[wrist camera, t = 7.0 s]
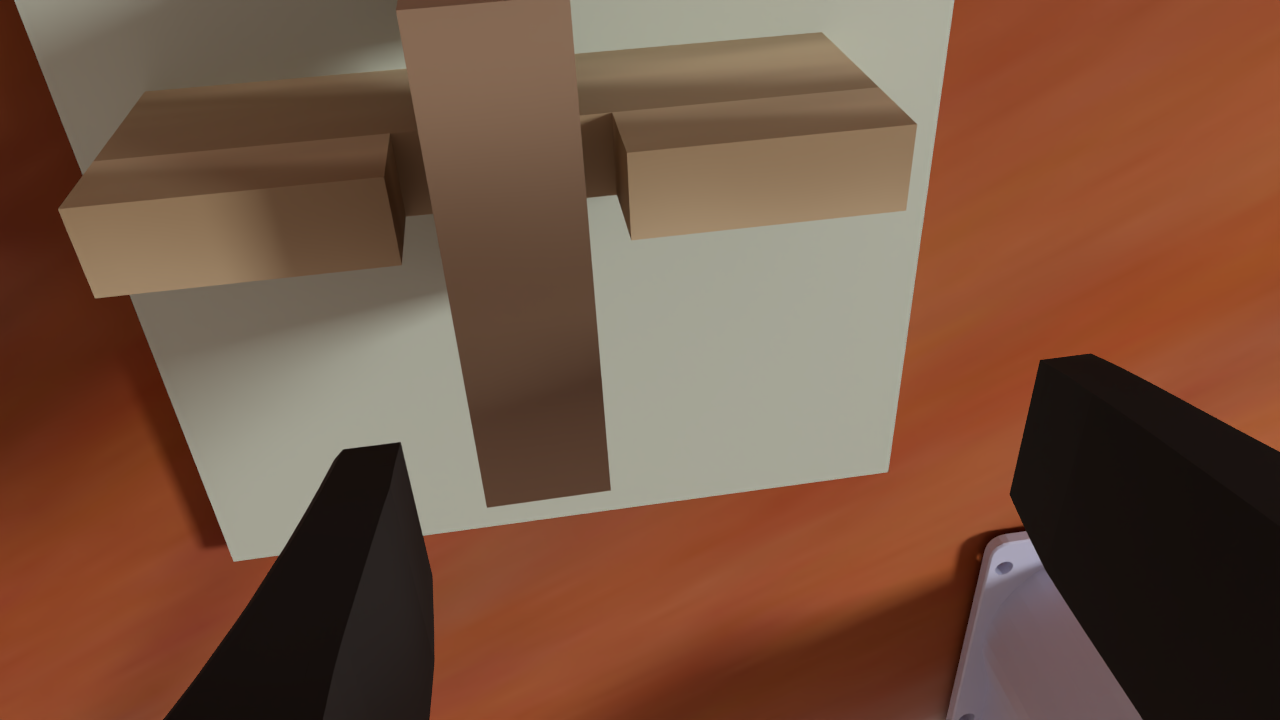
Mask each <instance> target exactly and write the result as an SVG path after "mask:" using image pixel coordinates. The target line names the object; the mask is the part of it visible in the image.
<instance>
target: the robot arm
mask: <svg viewBox="0 0 1280 720" xmlns="http://www.w3.org/2000/svg"><path fill="white" fill-rule="evenodd" d="M1010 496H1011V498H1012V501H1013V503H1014V505H1015V507H1016V510H1017V512H1018V514H1019V516H1020V518H1021V521H1022V523H1023V525H1024V527H1025V530H1026V531H1023V532H1016V533H1009V534H1003V535H999V536H997V537H995V538H993V539H992V540H991V541H990V542H989V543H988V544H987V546H986V548H985V551H984V555H983V560H982V564H981V569H980V573H979V577H978V582H977V586H976V590H975V595H974V599H973V604H972V608H971V612H970V617H969V621H968V625H967V630H966V634H965V639H964V643H963V647H962V652H961V656H960V660H959V665H958V669H957V674H956V678H955V682H954V687H953V691H952V695H951V700H950V704H949V709H948V713H947V717H946V720H1280V452H1279V451H1277V450H1275V449H1273V448H1271V447H1269V446H1267V445H1265V444H1263V443H1262V442H1260V441H1258V440H1256V439H1254V438H1252V437H1250V436H1248V435H1246V434H1245V433H1243V432H1241V431H1239V430H1237V429H1235V428H1233V427H1231V426H1230V425H1228V424H1226V423H1224V422H1222V421H1220V420H1218V419H1217V418H1215V417H1213V416H1211V415H1209V414H1207V413H1205V412H1204V411H1202V410H1200V409H1198V408H1196V407H1194V406H1192V405H1191V404H1189V403H1187V402H1185V401H1183V400H1181V399H1180V398H1178V397H1176V396H1174V395H1172V394H1170V393H1168V392H1167V391H1165V390H1163V389H1161V388H1159V387H1157V386H1155V385H1153V384H1152V383H1150V382H1148V381H1146V380H1144V379H1142V378H1140V377H1138V376H1136V375H1134V374H1132V373H1130V372H1129V371H1127V370H1125V369H1123V368H1121V367H1119V366H1117V365H1114V364H1112V363H1110V362H1108V361H1106V360H1104V359H1102V358H1099V357H1097V356H1095V355H1093V354H1084V355H1076V356H1068V357H1061V358H1053V359H1045V360H1040V363H1039V367H1038V372H1037V376H1036V380H1035V385H1034V389H1033V394H1032V398H1031V403H1030V407H1029V411H1028V416H1027V420H1026V425H1025V429H1024V433H1023V438H1022V442H1021V447H1020V451H1019V456H1018V460H1017V464H1016V469H1015V473H1014V478H1013V482H1012V486H1011V491H1010ZM433 672H434V614H433V580H432V572H431V568H430V564H429V560H428V555H427V551H426V547H425V543H424V538H423V534H422V530H421V526H420V522H419V517H418V513H417V509H416V505H415V500H414V496H413V492H412V488H411V483H410V479H409V475H408V471H407V466H406V462H405V458H404V454H403V450H402V445H401V442H397V443H389V444H381V445H373V446H365V447H358V448H350V449H343V450H342V451H341V452H340V453H339V455H338V456H337V457H336V458H335V459H334V461H333V463H332V465H331V467H330V468H329V470H328V472H327V474H326V476H325V478H324V479H323V481H322V483H321V485H320V487H319V489H318V490H317V492H316V494H315V496H314V498H313V499H312V501H311V503H310V505H309V506H308V508H307V510H306V512H305V513H304V515H303V517H302V519H301V520H300V522H299V524H298V525H297V527H296V529H295V530H294V532H293V534H292V535H291V537H290V539H289V540H288V542H287V544H286V545H285V547H284V549H283V550H282V552H281V553H280V555H279V557H278V558H277V560H276V561H275V563H274V564H273V566H272V568H271V569H270V571H269V572H268V574H267V575H266V577H265V579H264V580H263V582H262V583H261V585H260V586H259V588H258V590H257V591H256V593H255V594H254V596H253V597H252V599H251V600H250V602H249V603H248V605H247V606H246V608H245V609H244V611H243V612H242V614H241V615H240V617H239V618H238V620H237V621H236V622H235V624H234V625H233V627H232V628H231V629H230V631H229V632H228V634H227V635H226V636H225V638H224V639H223V640H222V642H221V643H220V645H219V646H218V647H217V649H216V650H215V652H214V653H213V654H212V656H211V657H210V659H209V660H208V661H207V663H206V664H205V666H204V667H203V668H202V670H201V671H200V673H199V674H198V675H197V677H196V678H195V679H194V681H193V682H192V683H191V685H190V686H189V687H188V689H187V690H186V691H185V692H184V694H183V695H182V696H181V698H180V699H179V700H178V701H177V703H176V704H175V705H174V707H173V708H172V709H171V710H170V712H169V713H168V714H167V715H166V717H165V718H164V719H163V720H429V717H430V706H431V695H432V684H433Z"/></svg>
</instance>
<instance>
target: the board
mask: <svg viewBox="0 0 1280 720" xmlns="http://www.w3.org/2000/svg"><path fill="white" fill-rule="evenodd" d="M14 1H15V4H16V6H17V9H18V11H19V14H20V16H21V19H22V21H23V24H24V27H25V29H26V32H27V34H28V37H29V39H30V42H31V44H32V47H33V50H34V52H35V55H36V57H37V60H38V62H39V65H40V68H41V70H42V73H43V75H44V78H45V80H46V83H47V85H48V88H49V91H50V93H51V96H52V98H53V101H54V103H55V106H56V108H57V111H58V114H59V116H60V119H61V121H62V124H63V126H64V129H65V131H66V134H67V137H68V139H69V142H70V144H71V147H72V149H73V152H74V154H75V157H76V160H77V162H78V165H79V167H80V170H81V172H82V175H83V174H84V173H85V172H86V170H87V169H88V168H89V166H90V165H91V164H92V162H93V161H94V160H95V158H96V157H97V155H98V154H99V153H100V151H101V150H102V149H103V147H104V146H105V145H106V143H107V142H108V141H109V139H110V138H111V137H112V135H113V134H114V132H115V131H116V130H117V128H118V127H119V126H120V124H121V123H122V122H123V120H124V119H125V118H126V116H127V115H128V114H129V112H130V111H131V110H132V108H133V107H134V105H135V104H136V103H137V101H138V100H139V99H140V97H141V96H142V95H143V93H144V92H145V91H157V90H168V89H179V88H191V87H202V86H214V85H225V84H236V83H248V82H259V81H271V80H282V79H293V78H305V77H316V76H328V75H339V74H350V73H362V72H373V71H385V70H396V69H406V63H405V58H404V52H403V47H402V41H401V36H400V31H399V25H398V20H397V14H396V7H397V1H398V0H14ZM570 5H571V17H572V29H573V41H574V53H575V54H578V53H590V52H601V51H612V50H624V49H635V48H647V47H658V46H669V45H681V44H692V43H704V42H715V41H726V40H738V39H749V38H761V37H772V36H783V35H795V34H806V33H818V32H822V33H823V34H824V35H825V36H826V37H827V38H828V39H829V40H831V41H832V42H833V43H834V44H835V45H836V46H837V47H838V48H839V49H840V50H841V51H842V52H843V53H844V54H845V55H846V56H847V57H848V58H849V59H850V60H851V61H852V62H853V63H854V64H855V65H856V66H857V67H859V68H860V69H861V70H862V71H863V72H864V73H865V74H866V75H867V76H868V77H869V78H870V79H871V80H872V81H873V82H874V83H875V84H876V85H877V86H878V87H879V88H880V89H881V90H882V91H883V92H884V93H885V94H886V95H888V96H889V97H890V98H891V99H892V100H893V101H894V102H895V103H896V104H897V105H898V106H899V107H900V108H901V109H902V110H903V111H904V112H905V113H906V114H907V115H908V116H909V117H910V118H911V119H912V120H913V121H914V122H916V123H917V130H916V138H915V145H914V153H913V161H912V169H911V176H910V184H909V192H908V200H907V208H906V211H898V212H889V213H880V214H870V215H861V216H852V217H843V218H834V219H824V220H815V221H806V222H797V223H787V224H778V225H769V226H760V227H750V228H741V229H732V230H723V231H713V232H704V233H695V234H686V235H676V236H667V237H658V238H649V239H640V240H631V238H630V235H629V232H628V229H627V225H626V222H625V219H624V216H623V213H622V210H621V206H620V203H619V200H618V197H617V195H611V196H601V197H592V198H587V209H588V221H589V233H590V245H591V257H592V269H593V281H594V293H595V305H596V317H597V329H598V341H599V353H600V365H601V377H602V389H603V401H604V413H605V425H606V437H607V449H608V461H609V473H610V485H611V491H604V492H597V493H590V494H582V495H575V496H568V497H561V498H554V499H547V500H540V501H532V502H525V503H518V504H511V505H504V506H497V507H489V508H487V506H486V500H485V495H484V490H483V484H482V479H481V473H480V468H479V462H478V457H477V451H476V446H475V440H474V435H473V429H472V424H471V419H470V413H469V408H468V402H467V397H466V391H465V386H464V380H463V375H462V369H461V364H460V358H459V353H458V347H457V342H456V337H455V331H454V326H453V320H452V315H451V309H450V304H449V298H448V293H447V287H446V282H445V276H444V271H443V266H442V260H441V255H440V249H439V244H438V238H437V233H436V227H435V222H434V216H433V214H427V215H417V216H407V217H406V222H405V234H404V245H403V257H402V265H399V266H390V267H381V268H372V269H362V270H353V271H344V272H335V273H325V274H316V275H307V276H298V277H288V278H279V279H270V280H261V281H252V282H242V283H233V284H224V285H215V286H205V287H196V288H187V289H178V290H168V291H159V292H150V293H141V294H131V295H130V298H131V300H132V303H133V305H134V308H135V310H136V313H137V315H138V318H139V321H140V323H141V326H142V328H143V331H144V333H145V336H146V339H147V341H148V344H149V346H150V349H151V351H152V354H153V356H154V359H155V362H156V364H157V367H158V369H159V372H160V374H161V377H162V379H163V382H164V385H165V387H166V390H167V392H168V395H169V397H170V400H171V402H172V405H173V408H174V410H175V413H176V415H177V418H178V420H179V423H180V425H181V428H182V431H183V433H184V436H185V438H186V441H187V443H188V446H189V448H190V451H191V454H192V456H193V459H194V461H195V464H196V466H197V469H198V471H199V474H200V477H201V479H202V482H203V484H204V487H205V489H206V492H207V494H208V497H209V500H210V502H211V505H212V507H213V510H214V512H215V515H216V517H217V520H218V523H219V525H220V528H221V530H222V533H223V535H224V538H225V540H226V543H227V546H228V548H229V551H230V553H231V556H232V558H233V561H241V560H249V559H256V558H263V557H271V556H278V555H280V553H281V552H282V550H283V549H284V547H285V545H286V544H287V542H288V540H289V539H290V537H291V535H292V534H293V532H294V530H295V529H296V527H297V525H298V524H299V522H300V520H301V519H302V517H303V515H304V513H305V512H306V510H307V508H308V506H309V505H310V503H311V501H312V499H313V498H314V496H315V494H316V492H317V490H318V489H319V487H320V485H321V483H322V481H323V479H324V478H325V476H326V474H327V472H328V470H329V468H330V467H331V465H332V463H333V461H334V459H335V458H336V457H337V456H338V455H339V453H340V452H341V451H342V450H343V449H350V448H358V447H365V446H373V445H381V444H389V443H397V442H401V445H402V450H403V454H404V458H405V462H406V466H407V471H408V475H409V479H410V483H411V488H412V492H413V496H414V500H415V505H416V509H417V513H418V517H419V522H420V526H421V530H422V534H423V536H424V535H431V534H439V533H446V532H453V531H461V530H468V529H475V528H483V527H490V526H497V525H504V524H512V523H519V522H526V521H534V520H541V519H548V518H556V517H563V516H570V515H578V514H585V513H592V512H599V511H607V510H614V509H621V508H629V507H636V506H643V505H651V504H658V503H665V502H673V501H680V500H687V499H695V498H702V497H709V496H716V495H724V494H731V493H738V492H746V491H753V490H760V489H768V488H775V487H782V486H790V485H797V484H804V483H811V482H819V481H826V480H833V479H841V478H848V477H855V476H863V475H870V474H877V473H885V472H888V469H889V462H890V455H891V447H892V440H893V433H894V426H895V419H896V412H897V405H898V397H899V390H900V383H901V376H902V369H903V362H904V355H905V348H906V340H907V333H908V326H909V319H910V312H911V305H912V298H913V291H914V283H915V276H916V269H917V262H918V255H919V248H920V241H921V233H922V226H923V219H924V212H925V205H926V198H927V191H928V184H929V176H930V169H931V162H932V155H933V148H934V141H935V134H936V127H937V119H938V112H939V105H940V98H941V91H942V84H943V77H944V69H945V62H946V55H947V48H948V41H949V34H950V27H951V20H952V12H953V5H954V0H570Z"/></svg>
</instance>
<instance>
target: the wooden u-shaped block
mask: <svg viewBox="0 0 1280 720" xmlns="http://www.w3.org/2000/svg"><path fill="white" fill-rule="evenodd" d="M575 65H576V77H577V89H578V101H579V113H580V125H581V137H582V149H583V161H584V173H585V185H586V197H587V198H592V197H601V196H611V195H617V197H618V200H619V203H620V206H621V210H622V213H623V216H624V219H625V222H626V225H627V229H628V232H629V235H630V238H631V240H640V239H649V238H658V237H667V236H676V235H686V234H695V233H704V232H713V231H723V230H732V229H741V228H750V227H760V226H769V225H778V224H787V223H797V222H806V221H815V220H824V219H834V218H843V217H852V216H861V215H870V214H880V213H889V212H898V211H906V208H907V200H908V192H909V184H910V176H911V169H912V161H913V153H914V145H915V138H916V130H917V123H916V122H914V121H913V120H912V119H911V118H910V117H909V116H908V115H907V114H906V113H905V112H904V111H903V110H902V109H901V108H900V107H899V106H898V105H897V104H896V103H895V102H894V101H893V100H892V99H891V98H890V97H889V96H888V95H886V94H885V93H884V92H883V91H882V90H881V89H880V88H879V87H878V86H877V85H876V84H875V83H874V82H873V81H872V80H871V79H870V78H869V77H868V76H867V75H866V74H865V73H864V72H863V71H862V70H861V69H860V68H859V67H857V66H856V65H855V64H854V63H853V62H852V61H851V60H850V59H849V58H848V57H847V56H846V55H845V54H844V53H843V52H842V51H841V50H840V49H839V48H838V47H837V46H836V45H835V44H834V43H833V42H832V41H831V40H829V39H828V38H827V37H826V36H825V35H824V34H823V33H822V32H818V33H806V34H795V35H783V36H772V37H761V38H749V39H738V40H726V41H715V42H704V43H692V44H681V45H669V46H658V47H647V48H635V49H624V50H612V51H601V52H590V53H578V54H575ZM58 211H59V213H60V215H61V218H62V220H63V223H64V225H65V228H66V230H67V232H68V235H69V237H70V240H71V242H72V244H73V247H74V249H75V252H76V254H77V256H78V259H79V261H80V264H81V266H82V268H83V271H84V273H85V276H86V278H87V280H88V283H89V285H90V288H91V290H92V292H93V295H94V297H95V298H104V297H113V296H122V295H131V294H141V293H150V292H159V291H168V290H178V289H187V288H196V287H205V286H215V285H224V284H233V283H242V282H252V281H261V280H270V279H279V278H288V277H298V276H307V275H316V274H325V273H335V272H344V271H353V270H362V269H372V268H381V267H390V266H399V265H402V257H403V245H404V234H405V222H406V217H407V216H417V215H427V214H433V211H432V205H431V200H430V194H429V189H428V184H427V178H426V173H425V167H424V162H423V156H422V151H421V145H420V140H419V134H418V129H417V123H416V118H415V113H414V107H413V102H412V96H411V91H410V85H409V80H408V74H407V69H396V70H385V71H373V72H362V73H350V74H339V75H328V76H316V77H305V78H293V79H282V80H271V81H259V82H248V83H236V84H225V85H214V86H202V87H191V88H179V89H168V90H157V91H145V92H144V93H143V95H142V96H141V97H140V99H139V100H138V101H137V103H136V104H135V105H134V107H133V108H132V110H131V111H130V112H129V114H128V115H127V116H126V118H125V119H124V120H123V122H122V123H121V124H120V126H119V127H118V128H117V130H116V131H115V132H114V134H113V135H112V137H111V138H110V139H109V141H108V142H107V143H106V145H105V146H104V147H103V149H102V150H101V151H100V153H99V154H98V155H97V157H96V158H95V160H94V161H93V162H92V164H91V165H90V166H89V168H88V169H87V170H86V172H85V173H84V174H83V176H82V177H81V178H80V180H79V181H78V183H77V184H76V185H75V187H74V188H73V189H72V191H71V192H70V193H69V195H68V196H67V197H66V199H65V200H64V201H63V203H62V204H61V206H60V207H59V208H58Z"/></svg>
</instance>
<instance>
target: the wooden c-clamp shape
mask: <svg viewBox="0 0 1280 720" xmlns="http://www.w3.org/2000/svg"><path fill="white" fill-rule="evenodd" d="M396 14H397V20H398V25H399V31H400V36H401V41H402V47H403V52H404V58H405V63H406V69H407V74H408V80H409V85H410V91H411V96H412V102H413V107H414V113H415V118H416V123H417V129H418V134H419V140H420V145H421V151H422V156H423V162H424V167H425V173H426V178H427V184H428V189H429V194H430V200H431V205H432V211H433V216H434V222H435V227H436V233H437V238H438V244H439V249H440V255H441V260H442V266H443V271H444V276H445V282H446V287H447V293H448V298H449V304H450V309H451V315H452V320H453V326H454V331H455V337H456V342H457V347H458V353H459V358H460V364H461V369H462V375H463V380H464V386H465V391H466V397H467V402H468V408H469V413H470V419H471V424H472V429H473V435H474V440H475V446H476V451H477V457H478V462H479V468H480V473H481V479H482V484H483V490H484V495H485V500H486V506H487V508H489V507H497V506H504V505H511V504H518V503H525V502H532V501H540V500H547V499H554V498H561V497H568V496H575V495H582V494H590V493H597V492H604V491H611V485H610V473H609V461H608V449H607V437H606V425H605V413H604V401H603V389H602V377H601V365H600V353H599V341H598V329H597V317H596V305H595V293H594V281H593V269H592V257H591V245H590V233H589V221H588V209H587V197H586V185H585V173H584V161H583V149H582V137H581V125H580V113H579V101H578V89H577V77H576V65H575V53H574V41H573V29H572V17H571V5H570V0H398V1H397V7H396Z"/></svg>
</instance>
